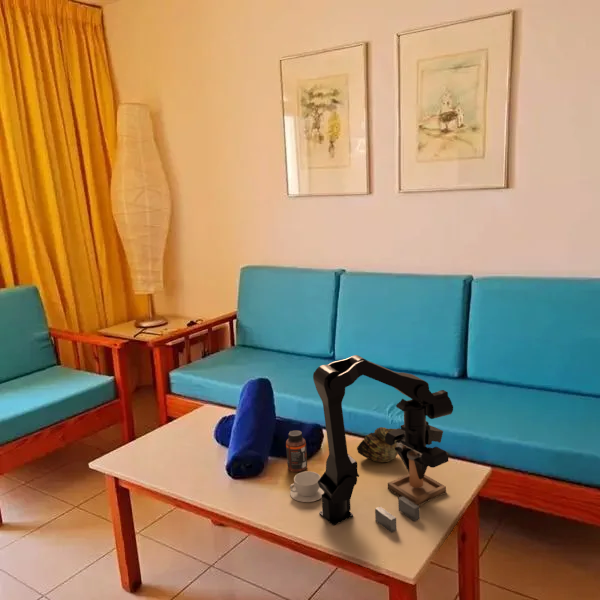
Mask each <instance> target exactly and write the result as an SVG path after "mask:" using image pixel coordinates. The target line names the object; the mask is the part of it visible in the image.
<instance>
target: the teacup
mask: <svg viewBox="0 0 600 600" xmlns="http://www.w3.org/2000/svg"><path fill="white" fill-rule="evenodd" d="M320 478H321V475H320V474H319V473H317V472H315V471H311V470H309V471H307V470H306V471H300V472H299V473H296V474H295V476H294V477H293V481H294V482H293V483H292V484H290V485H289V489H290V491H289V495H290V497H291V498H292V499H293V500H295V501H297V502H302V503H310V502H312V503H313V502H315V501H318V500H322V494H324V491H323V490H322V489H321V488H320V487H319V485H318V480H319V479H320Z"/></svg>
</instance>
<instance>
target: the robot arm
mask: <svg viewBox="0 0 600 600" xmlns="http://www.w3.org/2000/svg"><path fill="white" fill-rule="evenodd" d="M362 376H364V377H367V378H369V379H373V380H375V381H377V382H380V383H382V384H385V385H387V386H389V387H392V388H394V389H395V390H397V391H398V392H400V394H401V393H402V394H403V395H405V396H406V397H408V398H409V399H408V400H406V399H404V398H401V400H400V401H399V402H397V403H396V405H395V407H396V408H397V409H399V410H401V411H402V412H403V424H401V425H400V427H398V428H395V429H396V430H393V431H390V432H387V434H386V436H385V443H387V444H389V445H391V446H392V445H394V444H395V440H397V441H396V443H397V447H395V450H396V451H397V453H398V454H397V455H398V456H399V458H400V459H401V461H402V463H403V464H404V466H405V468H406V470H407V471H408V473H409V459H408V458H407V452H408V451H410V450H414V451H416V452H418V453H419V454H420V455H419V457H418V458H416V459H414V462H415V466H416V470H417V474H418V477H419V479H423V477H424V475H426V471H427V469H428V467H429V468H434V469H435V468H436V467H438V466H441V465H443V464H445V463H447V462H449V452H447V451H446V450H444V449H443V448H440V447H439V446H434V447H429V446H430V445H432V444H433V442H436V443H439V444H440V443H441V442H442V439H443V434H444V430H442V429H440V428H438V427H435V426H434V425H431V424H429V422H428V421H427V417H428V419H431V420H433V419H438V418H443V417H445V416H446V417H447V416H450V415H452V414H453V412H454V405H453V402H452V399H451V398H450V397H449V393H448V391H446V390H444V389H441V390H438V391H435V392H431V390H430V387H429V386H430V384H429V383H428V382H427V381H426V380H424V379H422V378H420V377H418V376H416V375H414V374H411V373H407V372H397V371H393V370H391V369H389V368H387V367H384V366H383V365H380V364H377V363H374V362H373V361H370V360H368V359H366V358H364V357H362V356H360V355H357V354H355V355H352V356H350V357H347V358H345V359H340V360H335V361H332V362H330V363H329V364H322V365H320V366H318V367H316V369H315V371H313V375H312V380H313V382H314V386H315V389H316V392H317V394H318V396H319V398H320V400H321V402H322V408H323V415H324V422H325V431H326V432H325V433H326V439H327V440H326V441H327V447H328V457H327V458H326V460H325V461H326V462H325V471H324V473H323V474H322V475H320V477H321V478H320V479H319V480H318V485H319V487H320V488H321V489H322V490H323V491H324V494H322V498H321V507H322V508H321V509H322V510H320V511H319V513H318V515H320V516H321V517H322V518H324V519H325V520H326V521H327V522H328V523H329V524H331V525H332V526H335V525H337V524H339V523H342V522H344V521H347V520H349V519H350V518H351V519H352V518H353V517H354V514H353V512H351V499H352V495H353V491H354V489H355V486H356V485H357V483H358V478H359V477H360V474H359V473H358V462H357V461H356V459H354V457H352V456H351V455H350V454H349V453H348V447H347V437H346V429H345V420H344V413H343V399H344V397H345V395H346V388H347V387H349V386H352V385H353V384H354V383H355V382H356V381H357V380H358V379H359V378H360V377H362ZM427 445H428V447H427Z"/></svg>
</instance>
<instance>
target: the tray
mask: <svg viewBox="0 0 600 600" xmlns="http://www.w3.org/2000/svg"><path fill="white" fill-rule="evenodd" d="M387 490H389V491H390V492H392V493H393V494H395V495H397V496H398V498H400V497H402V496H404V497H405V498H407V499H408V500H410V501H411V502H413V503H414V504H416V505H418V506H419V507H420V506H421V505H423V504H425V503H427V502H430V501H432V500H433V499H435V498H438V497H440V496H442V495H444V494H446V493H447V485H443V484H442V483H441V482H439V481H437V480H435V479H434V478H431V477H430V476H427V475H426V474H425V475H424V477H423V486H422V487H420V488H414V487H412V486H410V480H409V473H407V474H405V475H402V476H401V477H398V478H396V479H393V480H391V481H389V482H387Z"/></svg>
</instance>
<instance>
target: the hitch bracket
mask: <svg viewBox="0 0 600 600" xmlns="http://www.w3.org/2000/svg"><path fill="white" fill-rule="evenodd" d="M397 499H398V500H397V501H398V511H399V512H400V513H402V514H403V515H404V516H406V517H407V518H409V519H411V520H412V521H414V522H416V521H419V520H420V517H421V515H420V511H421V510H420V505H419V506H418V505H416V504H414V503H413V502H411V501H410V500H408V499H407V498H405V497H404V496H402V497H398V498H397ZM374 514H375V522H376V523H377V524H379V525H380V526H381V527H383V528H384V529H386V530H387V531H388V532H390V533H391V534H392V533H396V531H397V517H396V516H395V515H393V514H391V512H389V511H387V510H386V509H385V508H384V507H382V506H378V507H376V508H374Z"/></svg>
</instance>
